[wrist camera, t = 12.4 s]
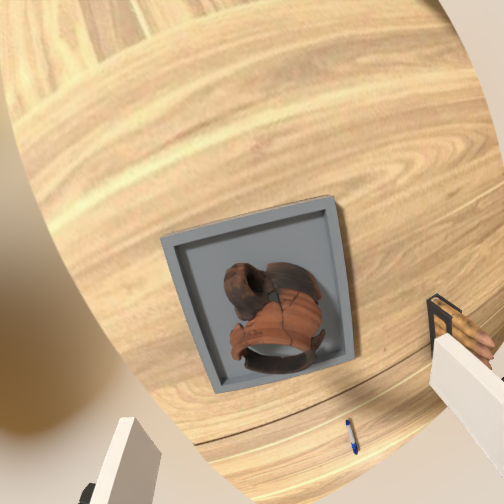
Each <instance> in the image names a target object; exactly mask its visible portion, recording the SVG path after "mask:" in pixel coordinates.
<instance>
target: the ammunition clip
mask: <svg viewBox="0 0 504 504" xmlns="http://www.w3.org/2000/svg"><path fill="white" fill-rule="evenodd" d="M427 308H428V317H429V326H430V338H431V352H432V359H433V350H434V339H436V338H438V337H440V336H442V335H444V334H446V333H448V334H450V335H451V336H452V337H453V338H454V339H456V340H457V341H458V342H459V343H460V344H461V345H463V346H464V347H465V348H466V349H467V350H468V351H470V352H471V353H472V354H473V355H474V356H475V357H477V358H478V359H479V360H480V361H481V362H482V363H483V364H484V365H486V366H487V367H488V368H489V369H490V370H492V367H491V365H490V364H489V362H488V361H487V359H494V357H493V355H492V353H491V351H490V350H489V349H488V348H487V347H486V346H488V347H495V344H494V342H493V340H492V339H491V338H490V336H489V335H487V334H486V333H485V332H484V331H482V329H480V328H479V327H478V326H477V325H476V324H475V323H474V322H473V321H472V320H470V319H469V318H467V317H466V316H464V315H463V314H462V310H460V309H459V308H458V307H456V306H455V305H453V304H452V303H450V302H449V301H448V300H446V299H445V298H443V297H442V296H440V295H439V294H435V295H434V296H432V297H431V298H429V299H427ZM485 345H486V346H485ZM486 358H487V359H486Z"/></svg>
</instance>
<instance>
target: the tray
mask: <svg viewBox="0 0 504 504" xmlns="http://www.w3.org/2000/svg"><path fill="white" fill-rule="evenodd" d="M160 240H161V243H162V247H163V250H164V253H165V257H166V260H167V263H168V266H169V270H170V273H171V276H172V279H173V282H174V285H175V288H176V291H177V294H178V297H179V300H180V303H181V306H182V309H183V312H184V314H185V317H186V320H187V323H188V326H189V328H190V331H191V334H192V336H193V339H194V342H195V344H196V347H197V350H198V352H199V355H200V357H201V360H202V362H203V365H204V367H205V370H206V372H207V375H208V377H209V380H210V382H211V385H212V387H213V389H214V392H215V394H218V393H223V392H229V391H234V390H239V389H244V388H249V387H254V386H258V385H263V384H267V383H272V382H276V381H280V380H284V379H288V378H292V377H296V376H299V375H303V374H307V373H310V372H314V371H317V370H321V369H324V368H327V367H331V366H334V365H337V364H340V363H343V362H346V361H349V360H352V359H355V354H354V340H353V328H352V318H351V308H350V299H349V290H348V282H347V274H346V267H345V260H344V253H343V246H342V240H341V234H340V228H339V222H338V216H337V210H336V205H335V200H334V196H331V195H323V196H319V197H314V198H310V199H305V200H301V201H296V202H292V203H287V204H283V205H279V206H274V207H270V208H266V209H262V210H257V211H253V212H249V213H245V214H241V215H237V216H233V217H229V218H225V219H221V220H217V221H213V222H210V223H206V224H202V225H198V226H194V227H191V228H187V229H183V230H179V231H176V232H172V233H168V234H165V235H163V236H162V237H161V238H160ZM274 262H287V263H291V264H295V265H298V266H300V267H302V268H304V269H306V270H307V271H308V272H309V273H310V274H311V275H312V276H313V277H314V279H315V281H316V283H317V286H318V287H319V289H320V292H321V299H320V300H318V305H317V306H318V308H319V309H320V310H321V312H322V323H321V325H320V327H319V329H318V330H317V331H316V333H315V334H314V335H313V336H312V337H315V336H317V335H319V334H320V332H321V330H322V329H325V332H326V334H325V338H324V339H323V341H322V344H321V345H320V347H319V348H318V349H317V351H316V352H315V353H316V355H317V356H318V357H317V358H316V361H315V362H314V364H313V365H311V366H310V367H309V368H307V369H306V370H303V371H301V372H297V373H291V374H264V373H258V372H255V371H251V370H249V369H246V368H245V367H244V363H245V358H244V357H243V356H242V359H241V360H240V361H238V360H234V359H233V357H232V355H231V349H232V346H231V344H230V333H231V330H233V329H234V327H235V326H236V324H237V323H241V324H242V325H243V327H245V326H246V324H247V323H248V321H242V320H240V319H239V318H238V317H237V315H236V312H235V309H234V305H233V304H232V303H231V302H230V301H229V299H228V297H227V296H226V293H225V290H224V277H225V273H226V270H227V269H229V268H230V267H232V266H233V265H234V264H236V263H249V264H251V265H252V266H253V267H255V268H257V269H258V270H263V271H265V272H266V269H267V265H268V264H269V263H274ZM269 300H270V301H271V300H275V301H278V298H277V295H276V292H273V293H271V294H270V295H269ZM248 348H249V349H251V350H253V351H255V352H257V353H259V354H261V355H267V356H280V357H281V358H284V357H287V356H293V355H298V354H300V353H303V351H301V350H299V349H297V348H295V347H292V346H290V345H289V346H287V345H282V344H258V345H251V346H249V347H248Z"/></svg>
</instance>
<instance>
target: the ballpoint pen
mask: <svg viewBox="0 0 504 504" xmlns="http://www.w3.org/2000/svg"><path fill="white" fill-rule="evenodd" d="M346 427H347V430H348V433H349V437H350V440H351V445H352V448H353V452H354V454H356V455H357V453H358V449H357V445H356V442H355V439H354V436H353V432H352V428H351V425H350V422H349V421H348V420H346Z"/></svg>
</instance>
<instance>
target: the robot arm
mask: <svg viewBox="0 0 504 504" xmlns="http://www.w3.org/2000/svg"><path fill="white" fill-rule="evenodd" d="M429 385H430V386H431V387H432V388H433V389H434V391H435V392H436V393H437V394H438V395H439V397H440V398H441V399H442V400H443V401H444V403H445V404H446V405H447V406H448V407H449V409H451V411H452V412H453V413H454V415H455V416H456V417H457V419H458V420H459V421H460V422H461V423H462V425H463V426H464V427H465V429H466V430H467V431H468V432H469V434H470V435H471V436H472V437H473V439H474V440H475V441H476V443H477V444H478V445H479V446H480V448H481V449H482V450H483V452H484V453H485V454H486V456H487V457H488V458H489V460H490V461H491V462H492V464H493V465H494V466H495V468H496V469H497V471H498V472H499V473H500V474H501V476H502V477H503V476H504V377H503V378H502V379H500V378H499V377H498V376H497V375H496V374H494V373H493V372H492V371H491V370H490V369H489V368H488V367H487V366H486V365H484V364H483V363H482V362H481V361H480V360H479V359H478V358H477V357H475V356H474V355H473V354H472V353H471V352H470V351H468V350H467V349H466V348H465V347H464V346H463V345H461V344H460V343H459V342H458V341H457V340H456V339H454V338H453V337H452V336H451V335H450V334H448V333H446V334H444V335H442V336H440V337H438V338H436V339H434V350H433V360H432V368H431V376H430V382H429ZM160 459H161V452H160V451H159V449H158V448H157V447H156V446H155V444H154V443H153V442H152V440H151V439H150V437H148V435H147V433H146V432H145V431H144V429H143V428H142V426H141V425H140V423H139V422H138V421H137V419H136V418H135V417H123V418H120V420H119V423H118V426H117V428H116V431H115V433H114V436H113V438H112V441H111V444H110V447H109V449H108V452H107V455H106V457H105V460H104V463H103V466H102V469H101V471H100V474H99V477H98V480H97V483H96V484H93V483H89V484H88V486H87V487H86V488H85V489H84V490H83V492H82V495H81V498H80V500H79V501H80V503H78V504H152V501H153V496H154V490H155V485H156V479H157V474H158V469H159V464H160Z"/></svg>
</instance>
